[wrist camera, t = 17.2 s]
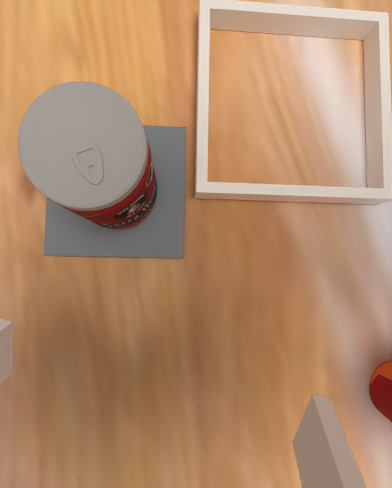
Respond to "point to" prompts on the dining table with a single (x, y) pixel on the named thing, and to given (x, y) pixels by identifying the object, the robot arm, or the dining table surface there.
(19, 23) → the dining table surface
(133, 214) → the canned food
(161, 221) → the mat
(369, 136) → the corral
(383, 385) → the paper cup
